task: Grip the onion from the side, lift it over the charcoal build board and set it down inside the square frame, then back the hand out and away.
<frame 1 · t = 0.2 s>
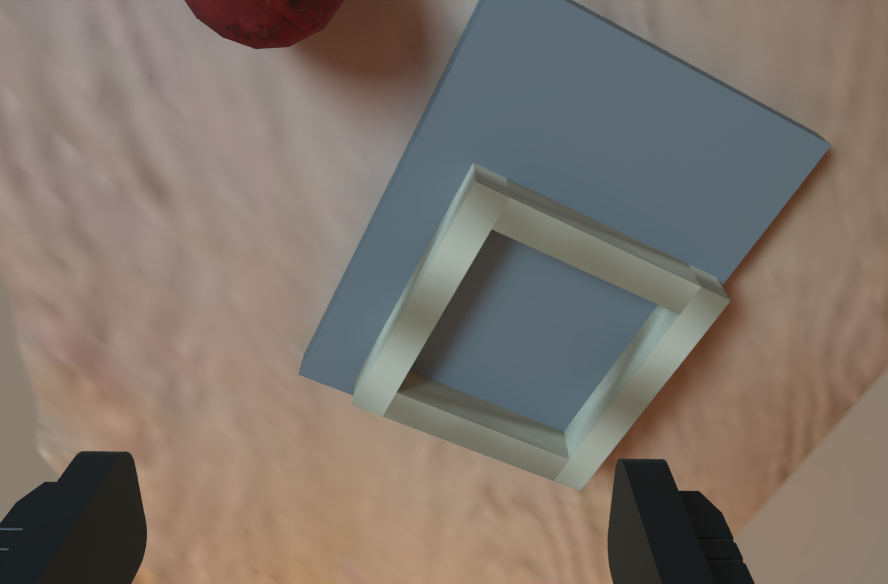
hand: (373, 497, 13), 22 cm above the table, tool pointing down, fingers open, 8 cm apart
square frame: (529, 329, 36), resting on build board
build board: (539, 253, 36), on the table
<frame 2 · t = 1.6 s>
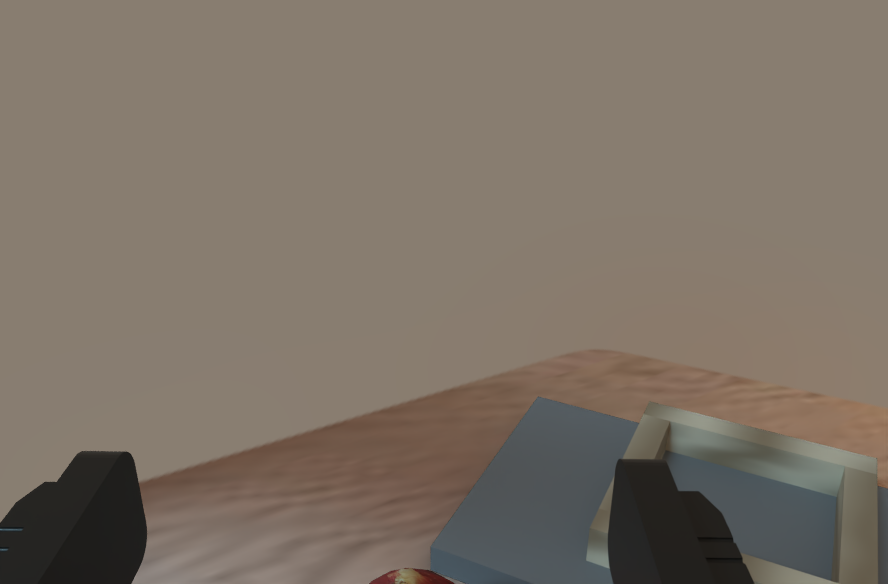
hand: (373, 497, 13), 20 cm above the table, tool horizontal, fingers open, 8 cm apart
square frame: (735, 522, 40), resting on build board
build board: (668, 538, 41), on the table
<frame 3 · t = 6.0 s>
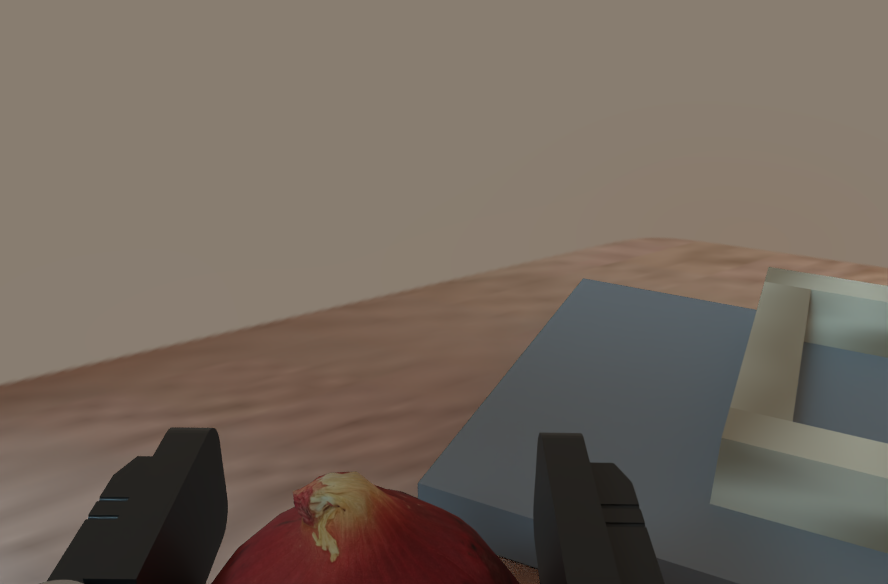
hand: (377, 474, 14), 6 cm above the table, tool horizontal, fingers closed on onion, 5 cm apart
build board: (832, 473, 24), on the table
when the fingers open (9 cm above the table, at t = 11.5 s): onion stays where it is, resting on build board.
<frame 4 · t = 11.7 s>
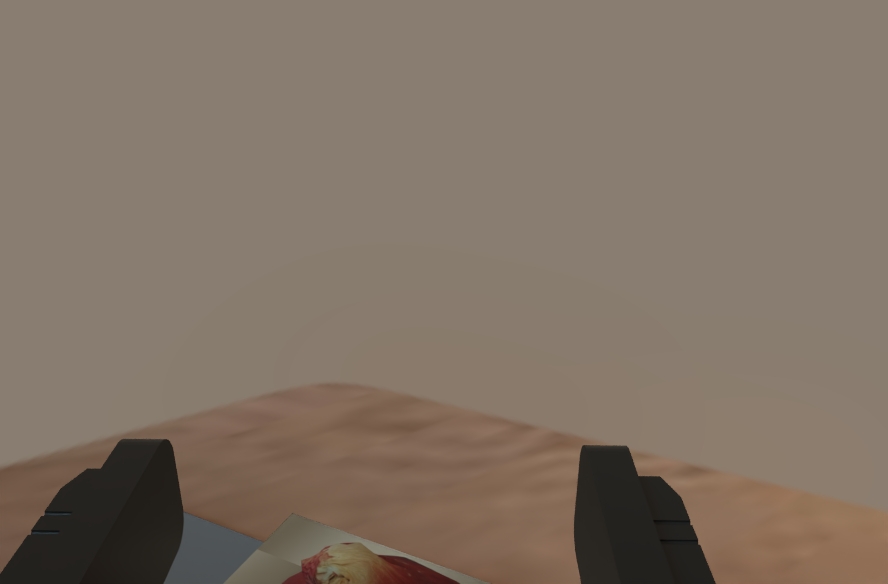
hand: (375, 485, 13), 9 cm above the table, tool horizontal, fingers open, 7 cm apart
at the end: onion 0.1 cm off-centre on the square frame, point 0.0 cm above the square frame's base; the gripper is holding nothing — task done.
